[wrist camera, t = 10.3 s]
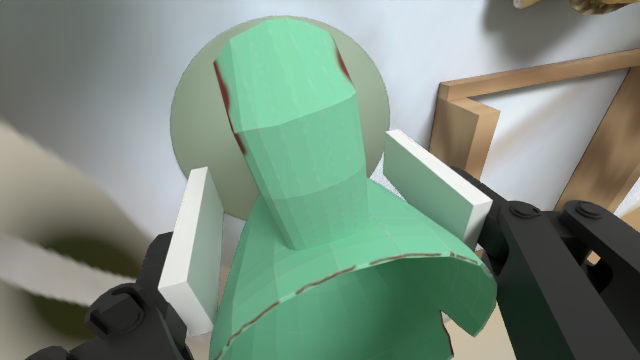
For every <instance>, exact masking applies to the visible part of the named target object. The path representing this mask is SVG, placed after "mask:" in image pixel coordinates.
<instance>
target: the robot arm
mask: <svg viewBox="0 0 640 360" xmlns="http://www.w3.org/2000/svg"><path fill="white" fill-rule="evenodd" d="M383 175H384V176H385V177H386V178H387V179H388V180H389V181H390V183H391V184H392V185H393V186H394V187H395V188H396V189H397V191H398V192H399V193H400V194H401V195H402V196H403V197H404V199H405V200H406V201H407V202H408V203H409V204H410V205H412V206H413V207H414V208H416V209H417V210H419V211H420V212H421V213H423V214H424V215H426V216H427V217H428V218H430V219H431V220H433V221H434V222H436V223H437V224H438V225H440V226H441V227H443V228H444V229H445V230H447V231H448V232H450V233H451V234H453V235H454V236H456V237H457V238H458V239H460V240H461V241H462V242H463V243H464V244H465V245H467V246H468V247H469V248H470V249H471V250H472V251H473V252H474V251H475V248H476V246H477V243H478V244H479V245H480V246H481V247H482V248H483V249H484V251H483V253H482V256H481V258H480V260H481V261H482V262H483V263H484V264H485V265H486V267H487V268H488V270H489V271H490V272H491V274H492V275H493V276H494V278H495V279H496V281H497V282H498V285H497V297H496V300H497V303H498V306H499V309H500V312H501V315H502V318H503V321H504V323H505V327H506V329H507V332H508V335H509V338H510V341H511V344H512V347H513V350H514V353H515V356H516V359H517V360H640V233H639V232H638V231H636V230H635V229H633V228H632V227H631V226H629V225H628V224H626V223H625V222H624V221H622V220H621V219H620V218H618V217H617V216H615V215H614V214H613V213H611V212H610V211H608V210H607V209H605V208H603V207H601V206H599V205H597V204H594V203H592V202H588V201H583V200H570V201H567V202H566V203H565V204H564V205H563V207H562V209H561V211H541V210H540V209H538V208H536V207H535V206H533V205H531V204H528V203H525V202H520V201H507V200H505V199H504V198H502V197H501V196H500V195H498V194H497V193H495V192H494V191H493V190H491V189H490V188H488V187H487V186H486V185H484V184H483V183H480V181H479V180H477V179H476V178H473V176H472V175H470V174H469V173H468V172H466V171H465V170H462V169H460V168H457V167H455V166H450V167H448V166H447V165H445V164H444V163H443V162H441V161H440V160H439V159H437V158H436V157H435V156H433V155H432V154H431V153H429V152H428V151H427V150H425V149H424V148H423V147H421V146H420V145H419V144H417V143H416V142H415V141H413V140H412V139H411V138H409V137H408V136H407V135H405V134H404V133H403V132H401V131H400V130H399V129H396V130H391V131H386V132H385V146H384V163H383ZM223 217H224V208H223V206H222V203H221V201H220V198H219V195H218V193H217V190H216V187H215V185H214V182H213V180H212V177H211V174H210V172H209V169H208V167H203V168H198V169H193V170H191V172H190V176H189V179H188V183H187V186H186V190H185V193H184V197H183V201H182V204H181V208H180V211H179V215H178V218H177V222H176V225H175V229H174V231H173V232H168V233H164V234H160V235H158V236H157V237H156V238H155V239H154V241H153V242H152V243H151V244H150V245H149V248H148V250H147V253H146V256H145V259H144V261H143V264H142V269H141V270H140V272H139V275H138V277H137V280H136V283H125V284H121V285H118V286H116V287H114V288H111V289H110V290H108V291H107V292H105V293H104V294H102V295H101V296H100V297H99V298H98V299H97V300H96V301H95V302H94V303H93V304H92V305H91V306H90V308H89V309H88V311H87V313H86V314H85V320H84V324H85V325H86V326H87V327H89V328H90V329H91V330H92V331H93V332H94V333H95V334H97V335H98V336H96V337H94V338H92V339H91V340H89V341H87V342H85V343H83V344H81V345H79V346H78V347H76V348H74V349H72V350H70V351H67V350H66V349H64V348H63V347H61V346H51V347H47V348H44V349H41V350H39V351H38V352H36V353H34V354H32V355H31V356H29V357H28V358H26V359H25V360H194V358H193V356H192V354H191V352H190V349H189V348H188V346H187V345H186V344H185V338H186V332H187V330H188V331H189V332H190V334H191V335H192V336H193V337H195V336H198V335H201V334H205V333H208V332H211V331H213V327H214V324H215V321H216V318H217V312H218V295H219V280H220V264H221V249H222V233H223ZM592 251H594V252H595V253H596V254H597V255H598V256H599V257H600V258H601V259H600V260H599V261H598V262H597V264H595V265H594V264H592V263H591V262H589V261H588V260H587V257H588V256H589V255H590V254H591V252H592Z"/></svg>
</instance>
